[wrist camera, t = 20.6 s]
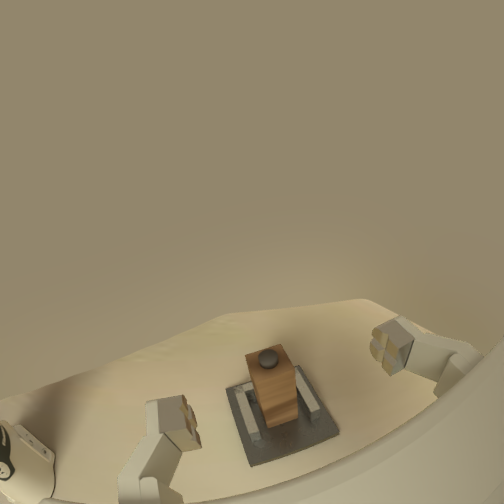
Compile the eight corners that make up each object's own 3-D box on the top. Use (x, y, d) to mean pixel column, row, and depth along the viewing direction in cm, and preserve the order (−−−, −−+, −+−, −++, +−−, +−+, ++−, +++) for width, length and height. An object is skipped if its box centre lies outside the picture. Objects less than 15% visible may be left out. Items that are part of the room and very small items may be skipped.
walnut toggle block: (298, 417, 36) (294, 362, 30) (267, 428, 36) (254, 376, 29) (286, 395, 41) (279, 337, 35) (258, 405, 40) (243, 349, 34)
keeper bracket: (338, 434, 33) (344, 410, 29) (250, 467, 30) (240, 449, 27) (299, 368, 47) (297, 338, 44) (226, 391, 44) (215, 364, 41)
